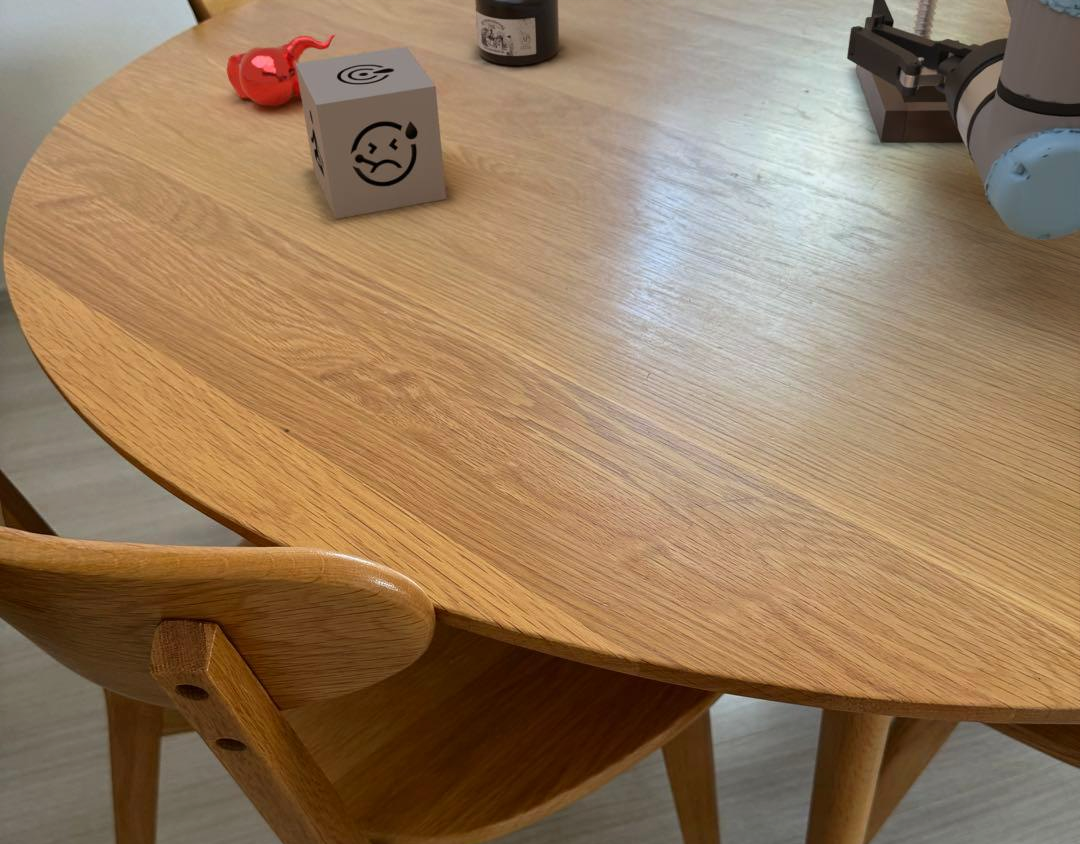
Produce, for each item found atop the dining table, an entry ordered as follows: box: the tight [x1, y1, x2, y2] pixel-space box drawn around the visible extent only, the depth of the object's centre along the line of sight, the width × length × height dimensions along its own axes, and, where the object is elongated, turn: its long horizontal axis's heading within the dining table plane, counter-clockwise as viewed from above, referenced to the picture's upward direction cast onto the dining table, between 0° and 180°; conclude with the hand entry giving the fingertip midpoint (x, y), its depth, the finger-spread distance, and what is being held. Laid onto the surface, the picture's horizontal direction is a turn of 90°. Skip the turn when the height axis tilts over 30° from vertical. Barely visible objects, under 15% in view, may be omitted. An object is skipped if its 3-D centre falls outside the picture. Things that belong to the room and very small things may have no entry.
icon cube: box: [295, 46, 447, 220], centre depth 102 cm, size 10×10×10 cm
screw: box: [912, 0, 939, 40], centre depth 113 cm, size 13×5×5 cm
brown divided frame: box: [855, 39, 964, 143], centre depth 113 cm, size 10×18×3 cm, turn 176°
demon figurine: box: [226, 34, 336, 107], centre depth 119 cm, size 8×6×12 cm
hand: (954, 10), depth 103 cm, fingers open, 13 cm apart
